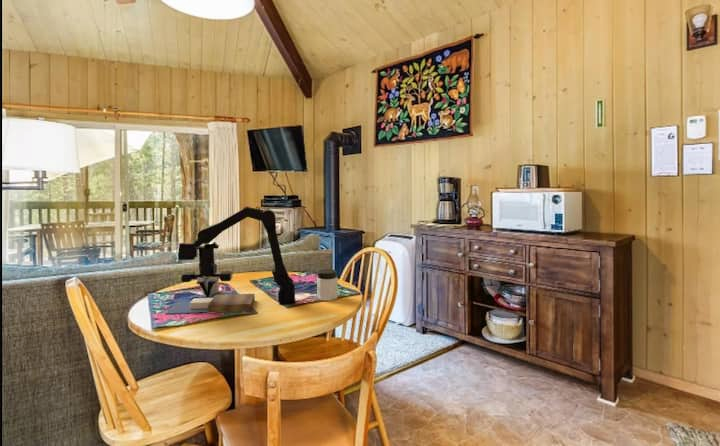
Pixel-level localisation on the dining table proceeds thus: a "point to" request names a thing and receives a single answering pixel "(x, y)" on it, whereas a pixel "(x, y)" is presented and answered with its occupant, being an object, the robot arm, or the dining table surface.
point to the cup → (215, 286)
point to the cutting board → (231, 303)
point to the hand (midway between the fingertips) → (208, 297)
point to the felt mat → (184, 308)
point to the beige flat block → (200, 303)
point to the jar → (327, 284)
